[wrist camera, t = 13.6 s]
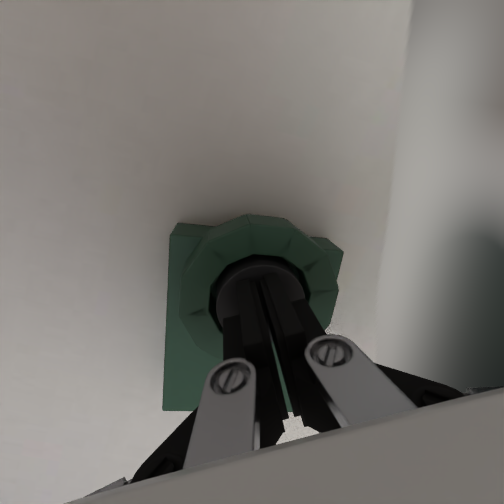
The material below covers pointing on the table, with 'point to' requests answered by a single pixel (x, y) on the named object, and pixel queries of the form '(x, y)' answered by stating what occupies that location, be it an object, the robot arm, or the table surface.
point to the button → (253, 271)
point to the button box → (205, 285)
